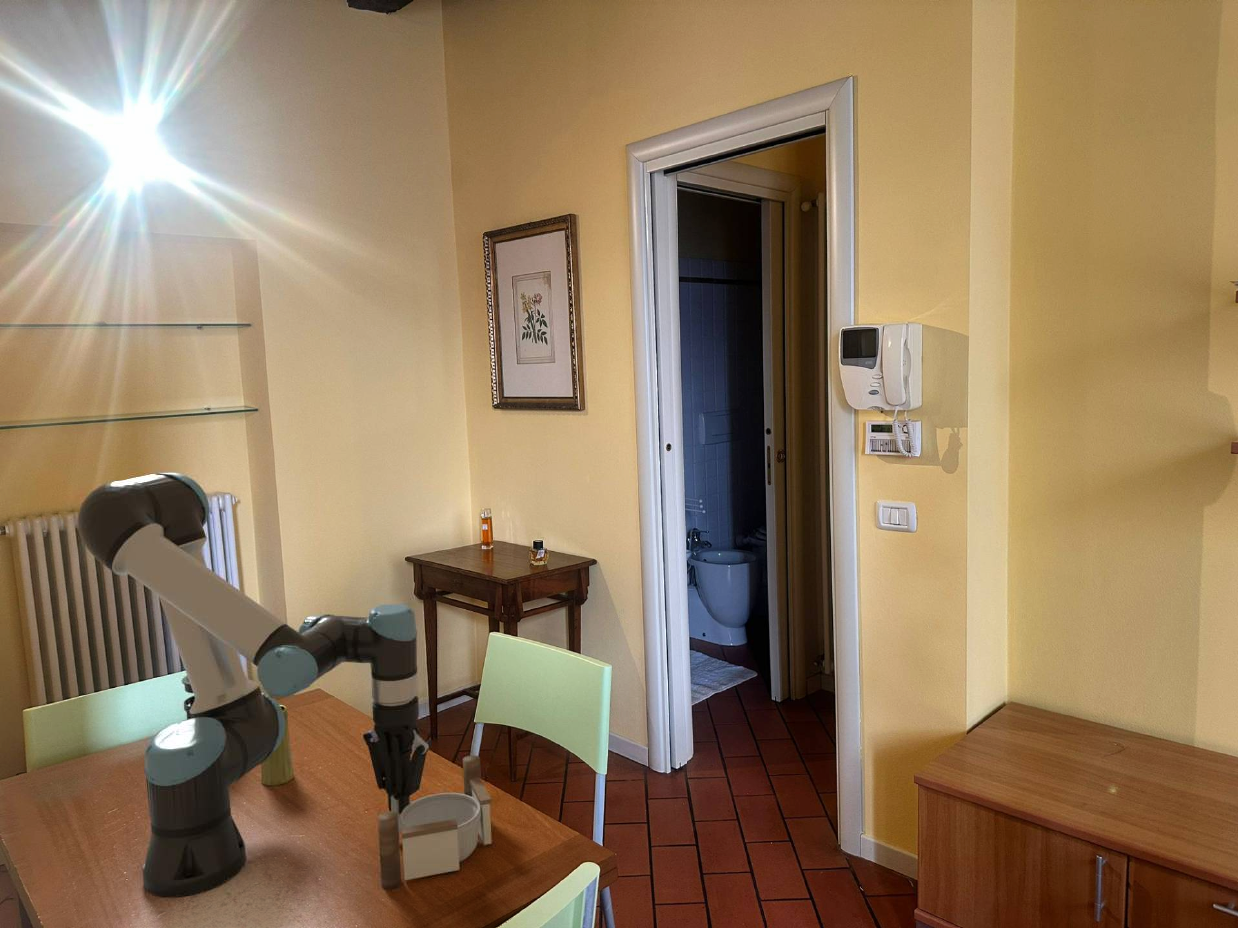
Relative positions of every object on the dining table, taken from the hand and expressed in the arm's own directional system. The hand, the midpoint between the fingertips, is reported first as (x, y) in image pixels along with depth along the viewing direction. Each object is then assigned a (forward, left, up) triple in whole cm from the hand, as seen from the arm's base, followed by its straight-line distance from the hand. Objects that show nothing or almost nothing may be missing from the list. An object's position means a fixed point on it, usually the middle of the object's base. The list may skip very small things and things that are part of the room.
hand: (399, 829), depth 153 cm
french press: (+11, +59, -2) cm, 60 cm away
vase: (+8, +37, -2) cm, 38 cm away
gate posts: (0, -8, -2) cm, 8 cm away
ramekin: (0, -9, -2) cm, 9 cm away
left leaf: (-7, -12, -1) cm, 14 cm away
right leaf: (+7, -12, -1) cm, 14 cm away
